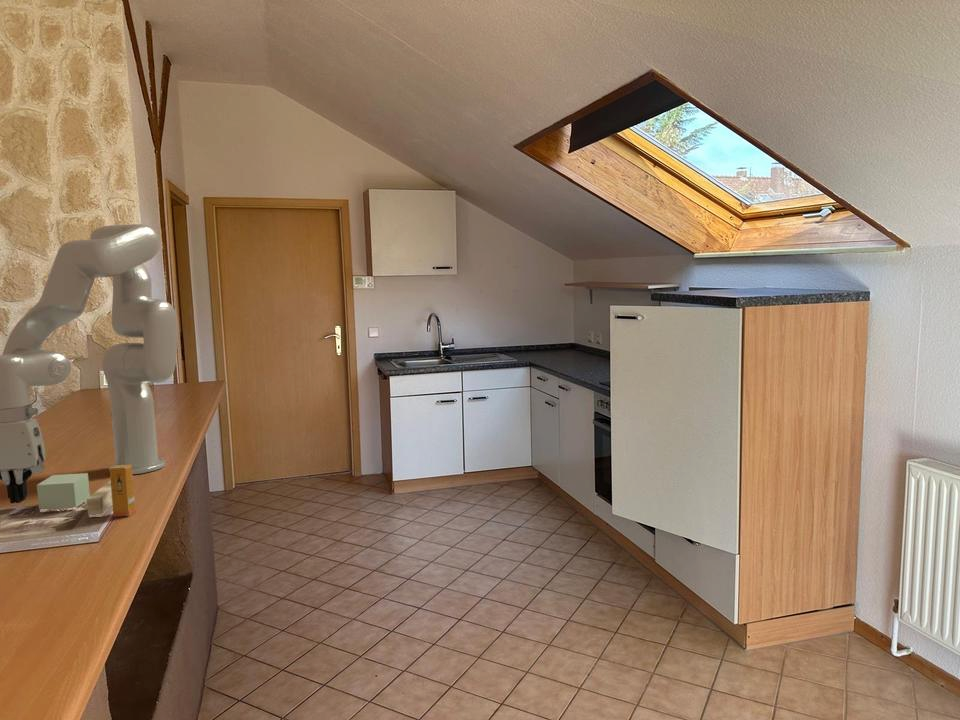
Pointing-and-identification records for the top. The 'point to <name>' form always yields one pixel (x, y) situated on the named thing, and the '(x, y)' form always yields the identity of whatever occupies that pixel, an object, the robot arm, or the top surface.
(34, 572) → the top surface
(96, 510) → the birch board
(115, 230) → the robot arm
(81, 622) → the top surface
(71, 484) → the green block
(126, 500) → the supplement box
